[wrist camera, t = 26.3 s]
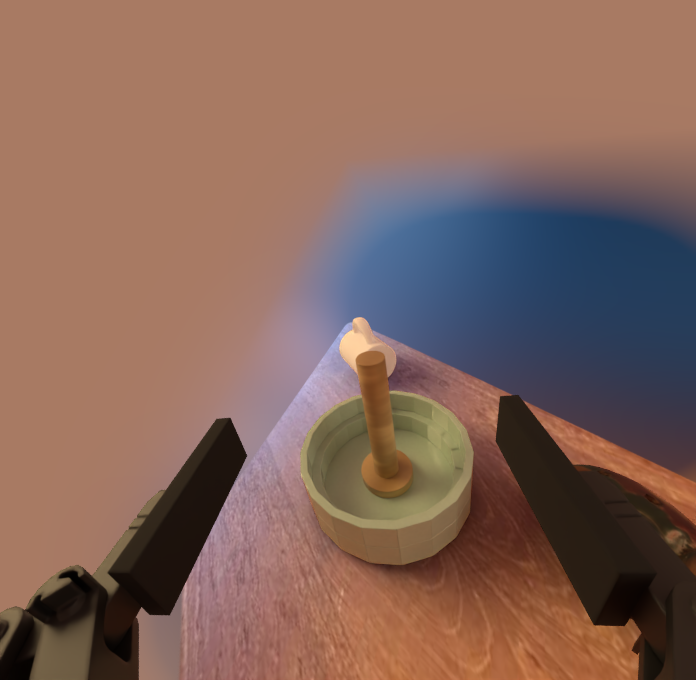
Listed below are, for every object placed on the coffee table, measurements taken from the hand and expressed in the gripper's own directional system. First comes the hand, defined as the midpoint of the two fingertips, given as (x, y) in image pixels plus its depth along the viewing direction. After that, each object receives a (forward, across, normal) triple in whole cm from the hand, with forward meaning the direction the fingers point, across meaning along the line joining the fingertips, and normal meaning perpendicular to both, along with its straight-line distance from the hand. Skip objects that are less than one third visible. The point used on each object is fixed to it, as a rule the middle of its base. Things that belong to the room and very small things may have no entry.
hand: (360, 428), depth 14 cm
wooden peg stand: (+14, 0, -21) cm, 25 cm away
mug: (+40, -2, -22) cm, 45 cm away
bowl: (+14, 0, -22) cm, 26 cm away
